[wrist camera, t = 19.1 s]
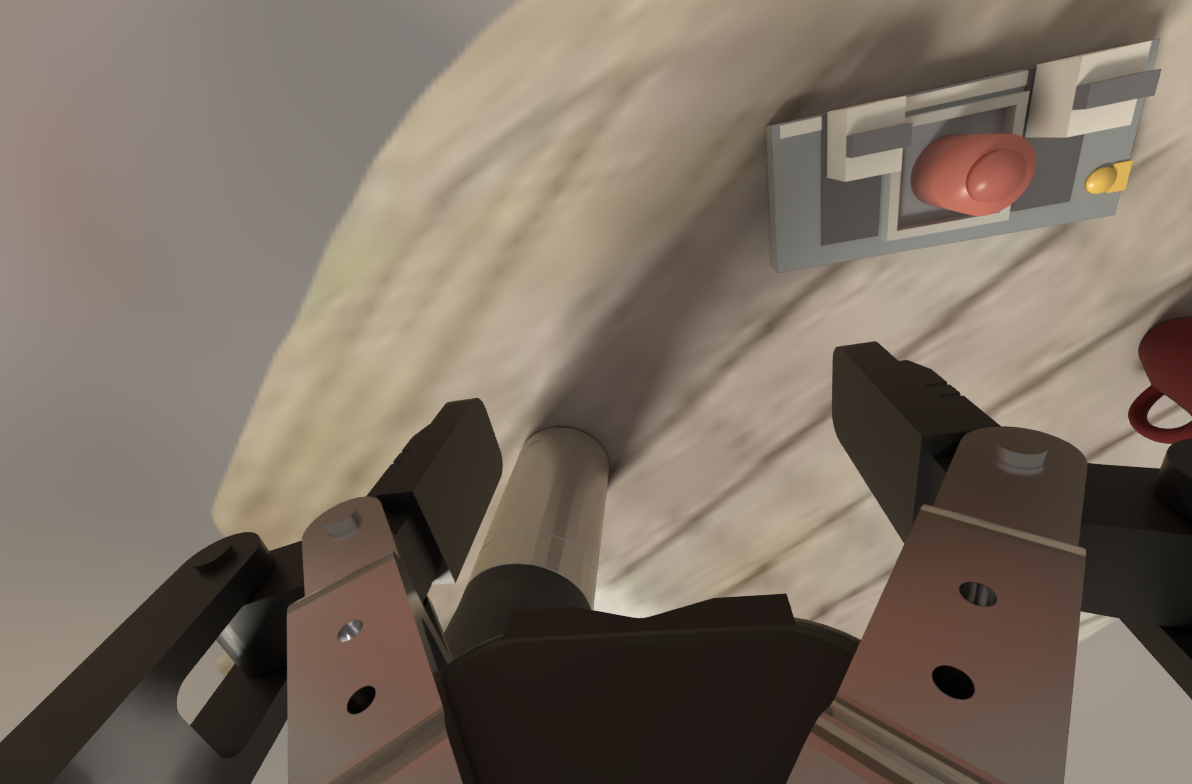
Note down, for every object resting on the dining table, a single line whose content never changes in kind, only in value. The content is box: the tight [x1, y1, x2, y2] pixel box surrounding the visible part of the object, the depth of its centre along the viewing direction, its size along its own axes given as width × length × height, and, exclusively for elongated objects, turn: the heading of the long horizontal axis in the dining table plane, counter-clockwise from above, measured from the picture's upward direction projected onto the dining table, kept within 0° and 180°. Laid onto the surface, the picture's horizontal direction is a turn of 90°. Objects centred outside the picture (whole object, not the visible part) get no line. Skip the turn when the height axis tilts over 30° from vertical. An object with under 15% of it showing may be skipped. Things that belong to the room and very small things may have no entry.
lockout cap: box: [910, 134, 1036, 216], centre depth 30 cm, size 4×4×6 cm
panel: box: [766, 39, 1160, 273], centre depth 33 cm, size 10×22×3 cm, turn 102°
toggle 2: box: [1025, 41, 1161, 138], centre depth 28 cm, size 4×3×4 cm
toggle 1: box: [827, 96, 913, 182], centre depth 30 cm, size 4×3×4 cm
